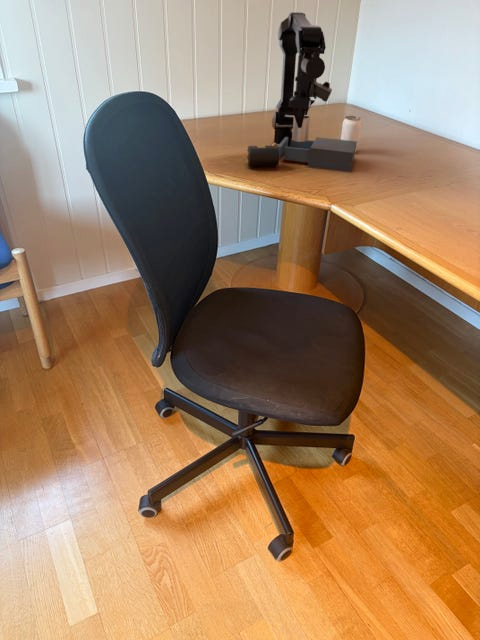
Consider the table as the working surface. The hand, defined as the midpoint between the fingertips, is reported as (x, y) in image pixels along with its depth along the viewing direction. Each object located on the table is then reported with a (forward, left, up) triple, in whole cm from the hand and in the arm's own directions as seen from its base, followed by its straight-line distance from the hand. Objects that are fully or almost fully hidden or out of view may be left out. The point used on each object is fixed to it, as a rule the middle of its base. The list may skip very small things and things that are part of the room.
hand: (301, 125), depth 161 cm
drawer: (-3, +8, -12) cm, 15 cm away
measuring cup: (-2, 0, -4) cm, 5 cm away
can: (+15, +24, -14) cm, 31 cm away
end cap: (-11, -5, -14) cm, 18 cm away
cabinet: (+11, +8, -13) cm, 19 cm away
